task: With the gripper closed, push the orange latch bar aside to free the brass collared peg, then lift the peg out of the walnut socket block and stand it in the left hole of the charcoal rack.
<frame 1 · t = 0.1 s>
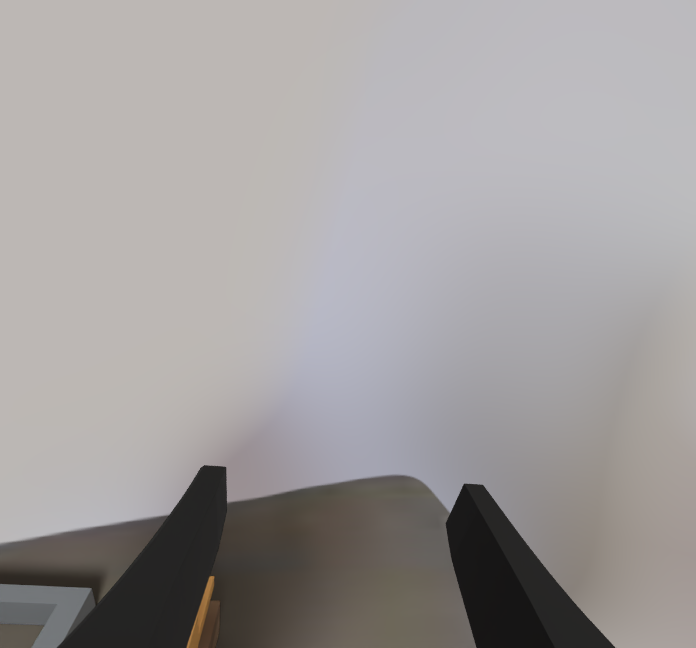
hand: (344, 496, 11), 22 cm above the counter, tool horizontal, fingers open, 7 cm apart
latch bar: (171, 646, 20), point 5 cm above the counter, slide at 0.0 cm
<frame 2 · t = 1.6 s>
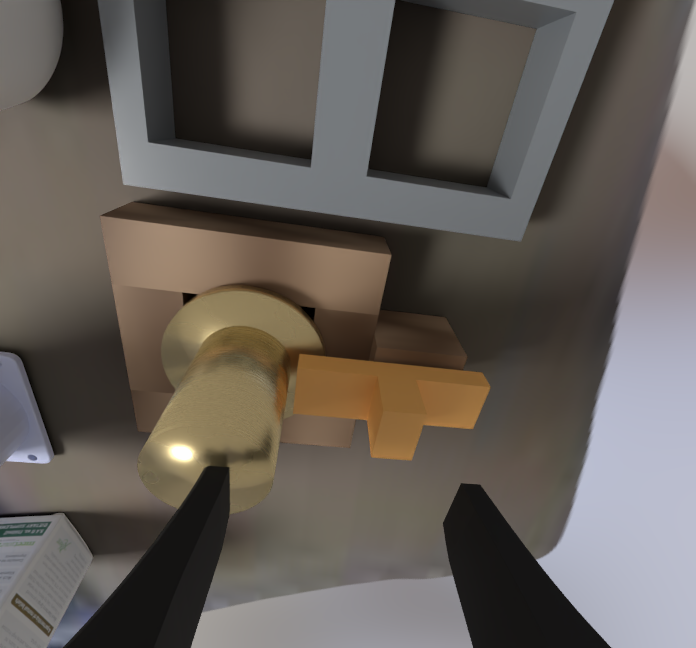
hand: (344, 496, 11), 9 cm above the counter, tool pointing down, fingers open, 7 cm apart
rack: (347, 86, 14), on the counter
socket block: (258, 326, 19), on the counter
latch bar: (392, 408, 15), point 5 cm above the counter, slide at 0.0 cm
syrup box: (45, 534, 27), on the counter
brass peg: (258, 326, 19), resting in socket block
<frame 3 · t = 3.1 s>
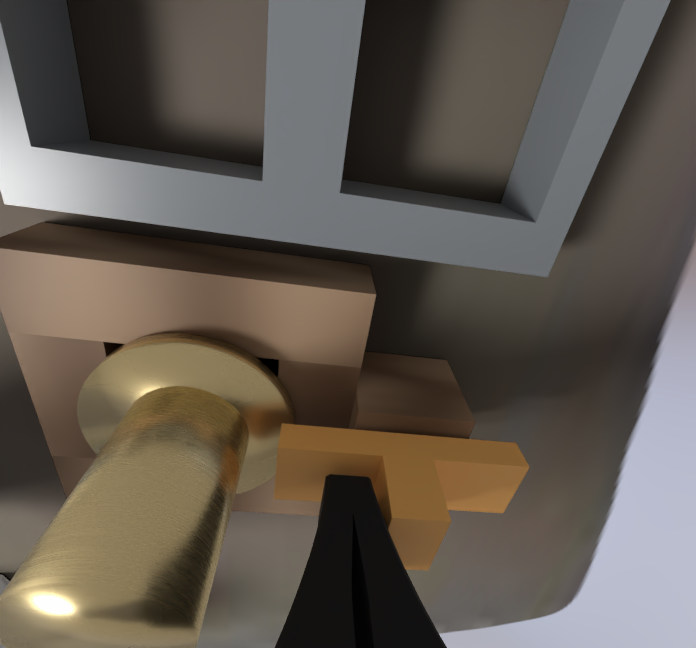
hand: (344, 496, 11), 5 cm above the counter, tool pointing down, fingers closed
rack: (316, 70, 10), on the counter
socket block: (216, 371, 15), on the counter
latch bar: (402, 497, 12), point 5 cm above the counter, slide at 0.8 cm, touching gripper
brass peg: (216, 371, 15), resting in socket block
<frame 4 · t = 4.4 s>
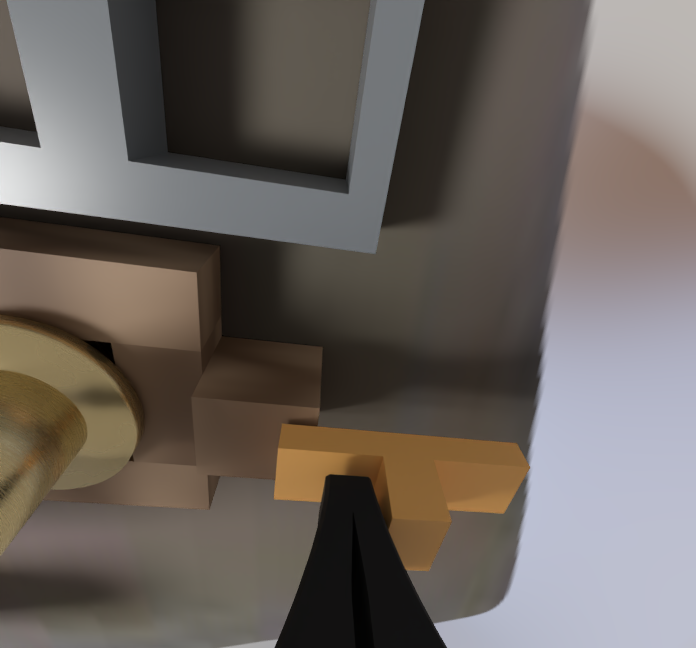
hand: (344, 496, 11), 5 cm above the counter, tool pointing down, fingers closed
rack: (119, 33, 10), on the counter
socket block: (82, 359, 15), on the counter
latch bar: (402, 497, 12), point 5 cm above the counter, slide at 6.1 cm, touching gripper
brass peg: (82, 358, 15), resting in socket block
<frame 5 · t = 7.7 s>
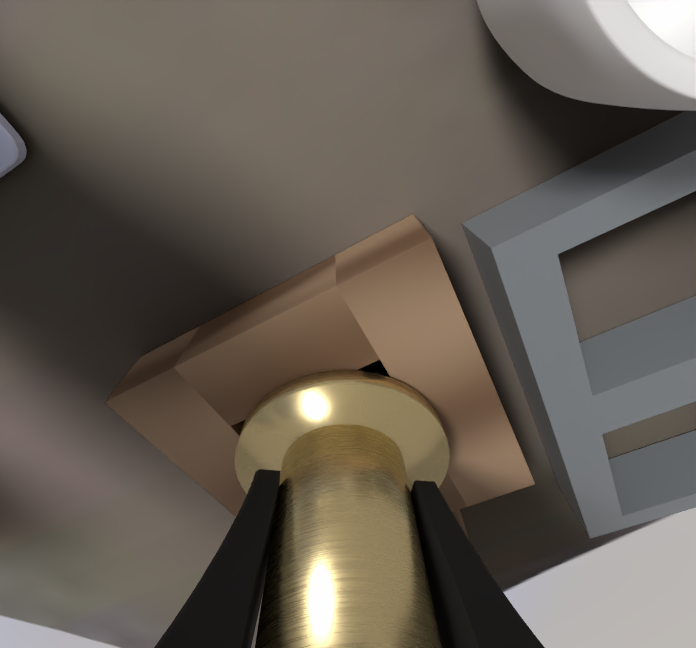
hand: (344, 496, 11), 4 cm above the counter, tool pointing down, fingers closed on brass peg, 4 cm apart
rack: (630, 343, 14), on the counter
socket block: (341, 399, 15), on the counter
brass peg: (341, 399, 15), resting in socket block, touching gripper
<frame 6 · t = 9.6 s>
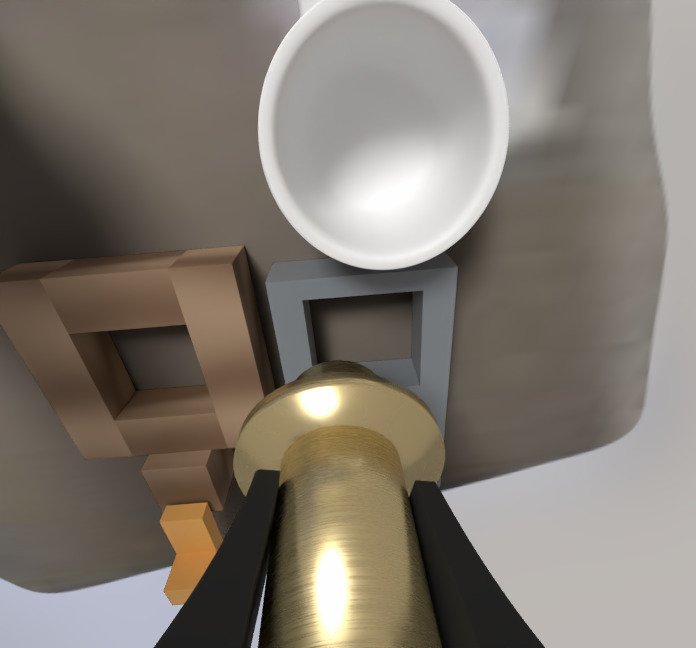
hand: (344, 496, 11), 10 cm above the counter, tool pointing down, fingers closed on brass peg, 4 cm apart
rack: (365, 375, 22), on the counter
socket block: (166, 348, 21), on the counter
latch bar: (197, 568, 22), point 5 cm above the counter, slide at 6.1 cm
teacup: (357, 114, 16), on the counter
brass peg: (337, 400, 15), point 6 cm above the counter, touching gripper
when the fingers open (5 cm above the counter, at t = 11.4 s): brass peg stays where it is, resting in rack.
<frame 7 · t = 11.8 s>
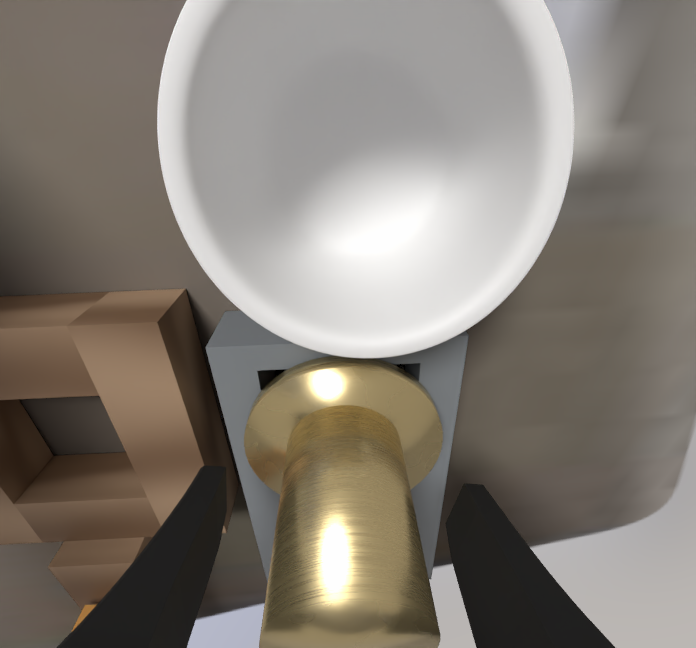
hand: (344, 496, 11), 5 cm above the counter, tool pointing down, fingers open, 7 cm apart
rack: (344, 445, 18), on the counter
socket block: (90, 409, 16), on the counter
teacup: (339, 123, 11), on the counter
brass peg: (342, 386, 16), resting in rack
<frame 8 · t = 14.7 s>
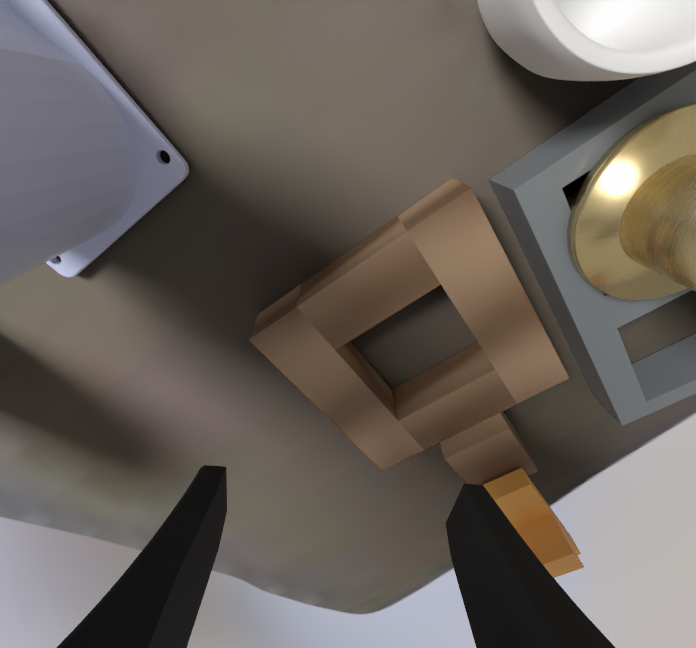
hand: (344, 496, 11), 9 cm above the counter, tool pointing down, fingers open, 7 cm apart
rack: (634, 258, 18), on the counter
socket block: (407, 332, 19), on the counter
latch bar: (541, 539, 20), point 5 cm above the counter, slide at 6.1 cm
brass peg: (614, 195, 16), resting in rack
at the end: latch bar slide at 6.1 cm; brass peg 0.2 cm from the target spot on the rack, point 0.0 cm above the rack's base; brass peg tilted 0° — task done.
